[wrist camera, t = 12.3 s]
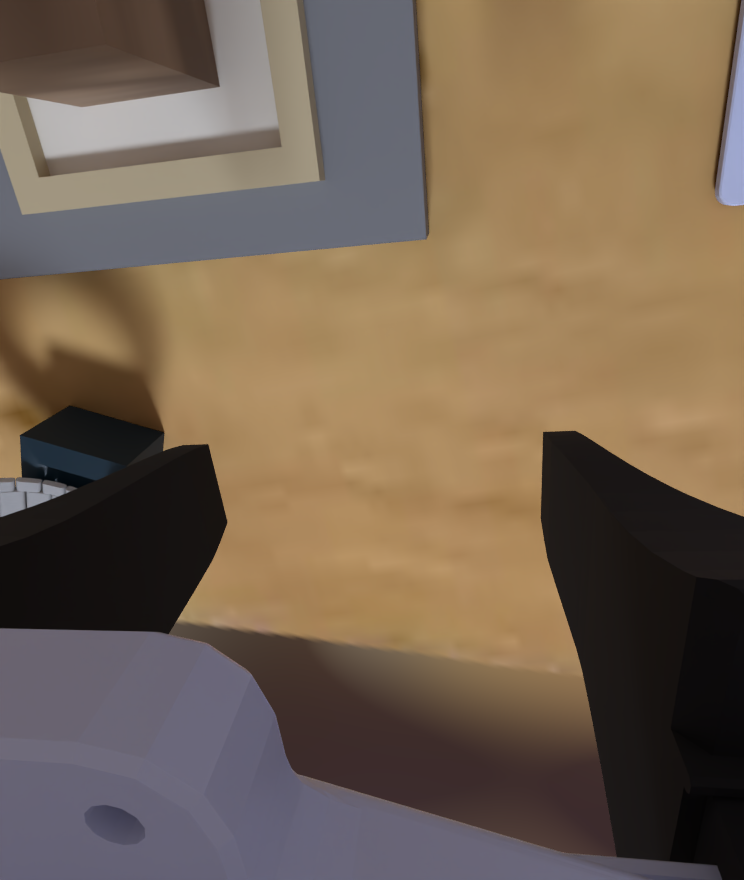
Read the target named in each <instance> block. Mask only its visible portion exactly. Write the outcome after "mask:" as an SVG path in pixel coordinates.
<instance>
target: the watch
mask: <svg viewBox="0 0 744 880" xmlns="http://www.w3.org/2000/svg"><path fill="white" fill-rule="evenodd" d="M163 443H164V432H160V431H157V430H153V429H150V428H146V427H143V426H139V425H136V424H132V423H129V422H125V421H122V420H118V419H115V418H112V417H108V416H105V415H101V414H98V413H94V412H91V411H87V410H84V409H80V408H77V407H73V406H68V407H67V408H65V409H63V410H62V411H60V412H58V413H56V414H55V415H53V416H51V417H50V418H48V419H46V420H45V421H43V422H41V423H40V424H38V425H36V426H35V427H33V428H31V429H30V430H28V431H26V432H25V433H23V434H21V435H20V444H21V466H22V478H20V477H19V478H16V487H15V478H0V517H2V516H5V515H8V514H11V513H14V512H17V511H20V510H23V509H26V508H29V507H32V506H35V505H37V504H40V503H43V502H45V501H48V500H51V499H53V498H56V497H58V496H61V495H63V494H65V493H68V492H70V491H72V490H75V489H77V488H80V487H82V486H84V485H87V484H89V483H91V482H94V481H96V480H99V479H101V478H103V477H105V476H108V475H110V474H112V473H114V472H117V471H119V470H121V469H123V468H125V467H128V466H130V465H132V464H134V463H137V462H139V461H141V460H143V459H146V458H148V457H150V456H153V455H155V454H158V453H160V452H163Z"/></svg>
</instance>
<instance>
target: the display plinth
mask: <svg viewBox="0 0 744 880" xmlns="http://www.w3.org/2000/svg"><path fill="white" fill-rule="evenodd" d="M204 2H205V8H206V13H207V19H208V24H209V30H210V35H211V41H212V46H213V52H214V57H215V63H216V68H217V73H218V79H219V84H220V87H217V88H210V89H203V90H196V91H189V92H183V93H176V94H169V95H162V96H155V97H149V98H142V99H135V100H128V101H122V102H115V103H108V104H101V105H94V106H88V107H78V106H72V105H67V104H61V103H56V102H50V101H45V100H39V99H34V98H28V97H23V96H17V95H12V94H6V93H1V92H0V279H9V278H20V277H30V276H41V275H51V274H62V273H73V272H83V271H94V270H105V269H115V268H126V267H136V266H147V265H158V264H168V263H179V262H190V261H200V260H211V259H221V258H232V257H243V256H253V255H264V254H275V253H285V252H296V251H306V250H317V249H328V248H338V247H349V246H360V245H370V244H381V243H391V242H402V241H413V240H423V239H427V236H428V234H429V226H428V208H427V190H426V172H425V154H424V137H423V119H422V101H421V83H420V65H419V47H418V29H417V12H416V0H204Z"/></svg>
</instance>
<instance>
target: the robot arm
mask: <svg viewBox="0 0 744 880" xmlns="http://www.w3.org/2000/svg"><path fill="white" fill-rule="evenodd" d="M715 196H716V198H717V200H718V201H719V202H720V203H722V204H723V205H732V206H736V205H744V0H741V7H740V14H739V21H738V28H737V35H736V43H735V50H734V57H733V64H732V71H731V79H730V86H729V93H728V100H727V107H726V114H725V122H724V129H723V136H722V143H721V150H720V158H719V165H718V172H717V179H716V186H715ZM541 522H542V529H543V535H544V541H545V547H546V552H547V558H548V561H549V565H550V568H551V571H552V574H553V577H554V581H555V584H556V587H557V590H558V593H559V596H560V599H561V602H562V606H563V609H564V612H565V615H566V618H567V621H568V624H569V627H570V630H571V633H572V637H573V640H574V643H575V646H576V649H577V653H578V656H579V660H580V664H581V668H582V672H583V677H584V681H585V686H586V691H587V696H588V701H589V706H590V711H591V716H592V721H593V726H594V732H595V737H596V742H597V748H598V753H599V758H600V764H601V769H602V774H603V779H604V785H605V791H606V797H607V803H608V808H609V814H610V820H611V825H612V831H613V837H614V842H615V849H616V854H617V857H608V856H596V855H582V854H571V853H562V852H559V851H555V850H552V849H549V848H545V847H542V846H538V845H535V844H532V843H528V842H525V841H522V840H518V839H515V838H512V837H508V836H505V835H501V834H498V833H495V832H491V831H488V830H485V829H481V828H478V827H474V826H471V825H468V824H464V823H461V822H457V821H454V820H451V819H447V818H444V817H441V816H437V815H434V814H430V813H427V812H424V811H420V810H417V809H414V808H410V807H407V806H404V805H400V804H397V803H393V802H390V801H387V800H383V799H380V798H376V797H373V796H370V795H366V794H363V793H359V792H356V791H353V790H350V789H346V788H343V787H339V786H336V785H332V784H329V783H326V782H323V781H319V780H316V779H312V778H309V777H306V776H301V775H297V774H296V773H295V772H294V771H293V770H292V769H291V767H290V765H289V762H288V760H287V758H286V755H285V751H284V747H283V743H282V739H281V735H280V731H279V727H278V723H277V719H276V715H275V713H274V711H273V710H272V708H271V706H270V704H269V703H268V701H267V700H266V698H265V696H264V694H263V693H262V691H261V690H260V688H259V686H258V684H257V683H256V681H255V680H254V678H253V676H252V675H251V674H250V673H249V671H248V670H246V669H245V668H243V667H242V666H240V665H239V664H237V663H236V662H234V661H233V660H231V659H230V658H228V657H227V656H226V655H224V654H222V653H221V652H220V651H218V650H216V649H215V648H214V647H212V646H210V645H209V644H208V643H204V642H200V641H196V640H191V639H187V638H182V637H178V636H174V635H169V632H170V631H171V629H172V627H173V626H174V624H175V622H176V621H177V619H178V617H179V616H180V614H181V612H182V611H183V609H184V607H185V606H186V604H187V603H188V601H189V599H190V598H191V596H192V594H193V593H194V591H195V589H196V588H197V586H198V584H199V582H200V581H201V579H202V577H203V576H204V574H205V572H206V570H207V569H208V567H209V565H210V563H211V562H212V560H213V558H214V556H215V553H216V551H217V548H218V546H219V544H220V541H221V538H222V536H223V533H224V530H225V528H226V525H227V519H226V515H225V511H224V506H223V502H222V498H221V494H220V490H219V486H218V482H217V478H216V474H215V470H214V466H213V462H212V458H211V454H210V450H209V445H208V444H204V445H182V446H178V447H174V448H171V449H168V450H165V451H163V452H160V453H158V454H155V455H153V456H150V457H148V458H146V459H143V460H141V461H139V462H137V463H134V464H132V465H130V466H128V467H125V468H123V469H121V470H119V471H117V472H114V473H112V474H110V475H108V476H105V477H103V478H101V479H99V480H96V481H94V482H91V483H89V484H87V485H84V486H82V487H80V488H77V489H75V490H72V491H70V492H68V493H65V494H63V495H61V496H58V497H56V498H53V499H51V500H48V501H45V502H43V503H40V504H37V505H35V506H32V507H29V508H26V509H23V510H20V511H17V512H14V513H11V514H8V515H5V516H2V517H0V880H744V517H743V516H740V515H737V514H734V513H732V512H729V511H726V510H723V509H721V508H718V507H716V506H713V505H711V504H709V503H706V502H704V501H701V500H699V499H697V498H694V497H692V496H689V495H687V494H685V493H683V492H681V491H678V490H676V489H674V488H672V487H670V486H668V485H666V484H665V483H663V482H661V481H659V480H657V479H655V478H653V477H651V476H649V475H647V474H646V473H644V472H642V471H640V470H639V469H637V468H635V467H633V466H632V465H630V464H628V463H627V462H625V461H623V460H622V459H620V458H619V457H617V456H615V455H614V454H612V453H611V452H609V451H607V450H606V449H604V448H603V447H601V446H600V445H598V444H597V443H595V442H593V441H592V440H590V439H589V438H587V437H586V436H584V435H582V434H580V433H578V432H576V431H559V432H543V460H542V497H541Z"/></svg>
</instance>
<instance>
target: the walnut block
mask: <svg viewBox="0 0 744 880" xmlns="http://www.w3.org/2000/svg"><path fill="white" fill-rule="evenodd" d="M217 87H220V84H219V79H218V73H217V68H216V63H215V57H214V52H213V46H212V41H211V35H210V30H209V24H208V19H207V13H206V8H205V2H204V0H0V92H1V93H6V94H12V95H17V96H23V97H28V98H34V99H39V100H45V101H50V102H56V103H61V104H67V105H72V106H78V107H88V106H94V105H101V104H108V103H115V102H122V101H128V100H135V99H142V98H149V97H155V96H162V95H169V94H176V93H183V92H189V91H196V90H203V89H210V88H217Z"/></svg>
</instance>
